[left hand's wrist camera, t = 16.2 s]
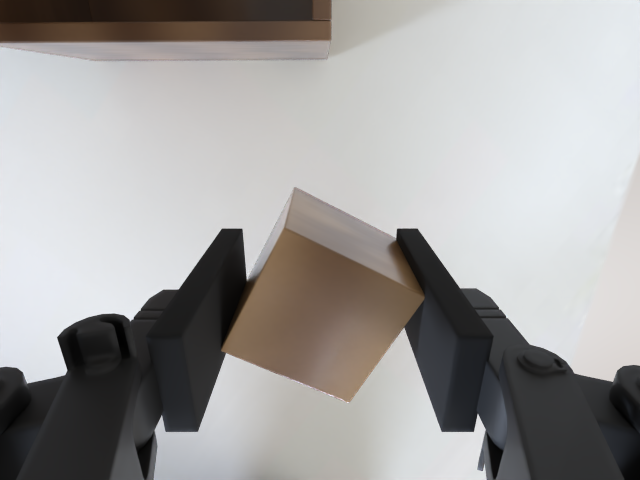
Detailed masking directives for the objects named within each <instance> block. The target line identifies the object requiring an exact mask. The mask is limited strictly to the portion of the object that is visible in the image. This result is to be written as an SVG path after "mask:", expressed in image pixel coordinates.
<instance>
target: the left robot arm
mask: <svg viewBox="0 0 640 480" xmlns="http://www.w3.org/2000/svg"><path fill="white" fill-rule="evenodd" d="M396 240H397V242H398V244H399V246H400V248H401V250H402V252H403V254H404V256H405V258H406V260H407V262H408V264H409V266H410V268H411V269H412V271H413V273H414V275H415V277H416V279H417V281H418V283H419V285H420V287H421V289H422V291H423V293H424V295H425V298H424V300H423V302H422V303H421V305H420V306H419V307H418V309H417V310H416V311H415V313H414V314H413V316H412V317H411V318H410V320H409V321H408V322H407V324H406V325H405V327H404V328H405V330H406V333H407V336H408V339H409V342H410V344H411V347H412V350H413V353H414V356H415V358H416V361H417V364H418V367H419V369H420V372H421V375H422V378H423V381H424V383H425V386H426V389H427V392H428V395H429V397H430V400H431V403H432V406H433V409H434V411H435V414H436V417H437V420H438V423H439V425H440V428H441V431H442V432H474V428H475V424H476V419H477V414H479V416H480V418H481V420H482V423H483V425H484V427H485V429H486V431H485V435H484V440H483V444H482V449H481V453H480V458H479V462H478V469H477V470H480V471H483V467H484V463H485V468H486V477H487V480H640V366H637V365H630V366H623V367H622V368H620V369H619V370H618V371H617V373H616V376H615V378H614V381H613V382H610V381H606V380H600V379H596V378H591V377H586V376H581V375H578V374H574V372H573V370H572V369H571V368H570V366H569V365H568V364H567V362H566V361H564V360H563V359H562V358H560V357H559V356H557V355H556V354H554V353H552V352H550V351H548V350H546V349H544V348H540V347H536V346H532V345H529V343H528V342H527V341H526V340H525V339H524V337H523V336H522V335H521V334H520V332H519V331H518V330H517V329H516V328H515V326H514V325H513V324H512V323H511V322H510V320H509V319H508V318H506V316H505V314H504V313H503V312H502V311H501V310H499V307H498V306H497V305H496V304H495V302H494V301H493V300H492V299H491V298H490V297H489V296H487V295H486V294H484V293H483V292H481V291H479V290H478V289H460V288H459V286H458V285H457V284H456V282H455V281H454V279H453V278H452V277H451V275H450V274H449V272H448V271H447V270H446V268H445V267H444V265H443V264H442V263H441V261H440V260H439V258H438V257H437V256H436V254H435V253H434V251H433V250H432V248H431V247H430V246H429V244H428V243H427V241H426V240H425V239H424V237H423V236H422V234H421V233H420V232H419V230H418V229H397V237H396ZM246 282H247V279H246V267H245V255H244V243H243V230H242V229H222V230H221V231H220V232H219V234H218V235H217V237H216V238H215V239H214V241H213V242H212V244H211V245H210V246H209V248H208V249H207V251H206V252H205V253H204V255H203V256H202V258H201V259H200V260H199V262H198V263H197V265H196V266H195V267H194V269H193V270H192V272H191V273H190V274H189V276H188V277H187V279H186V280H185V282H184V283H183V284H182V286H181V287H180V289H179V290H162V291H161V292H159V293H158V294H156V295H154V296H153V297H151V298H150V299H149V300H148V301H147V302H146V303H145V305H144V306H143V307H142V308H141V311H139V312H138V313H137V314H136V315H135V317H134V320H131V322H130V320H129V319H128V318H126V317H125V316H124V315H119V314H101V315H97V316H92V317H88V318H86V319H83V320H81V321H78V322H76V323H74V324H72V325H71V326H69V327H68V328H66V329H64V330H63V332H62V333H61V334H60V335H59V336H58V337H57V338H58V342H59V345H60V348H61V351H62V354H63V357H64V361H65V364H66V367H67V370H68V371H67V373H66V375H64V376H61V377H57V378H52V379H47V380H42V381H38V382H33V383H28V384H27V383H26V380H25V377H24V375H23V372H21V371H20V370H19V369H17V368H12V367H2V368H0V480H153V478H154V469H155V461H156V453H157V441H156V435H155V431H154V430H155V428H156V426H157V424H158V421H159V419H160V417H161V415H162V416H163V421H164V426H165V431H166V432H198V430H199V427H200V424H201V421H202V418H203V416H204V413H205V410H206V407H207V405H208V402H209V399H210V396H211V393H212V391H213V388H214V385H215V382H216V379H217V377H218V374H219V371H220V368H221V365H222V363H223V360H224V357H225V354H226V353H225V352H222V351H221V347H222V344H223V341H224V339H225V336H226V334H227V331H228V328H229V326H230V323H231V321H232V318H233V316H234V313H235V310H236V308H237V305H238V303H239V300H240V297H241V295H242V292H243V290H244V287H245V284H246Z"/></svg>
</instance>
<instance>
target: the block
mask: <svg viewBox="0 0 640 480" xmlns="http://www.w3.org/2000/svg"><path fill="white" fill-rule="evenodd" d="M424 298H425V295H424V293H423V291H422V289H421V287H420V285H419V283H418V281H417V279H416V277H415V275H414V273H413V271H412V269H411V268H410V266H409V264H408V262H407V260H406V258H405V256H404V254H403V252H402V250H401V248H400V246H399V244H398V242H397V240H396V238H394V237H392V236H390V235H388V234H387V233H385V232H383V231H381V230H379V229H377V228H375V227H373V226H371V225H369V224H367V223H365V222H363V221H361V220H359V219H357V218H355V217H353V216H351V215H349V214H347V213H345V212H343V211H341V210H339V209H337V208H335V207H334V206H332V205H330V204H328V203H326V202H324V201H322V200H320V199H318V198H316V197H314V196H312V195H310V194H308V193H306V192H304V191H302V190H300V189H298V188H296V187H295V188H294V189H293V191H292V193H291V195H290V197H289V199H288V201H287V203H286V205H285V207H284V209H283V211H282V212H281V214H280V216H279V218H278V220H277V222H276V224H275V226H274V228H273V230H272V232H271V234H270V236H269V238H268V240H267V242H266V244H265V246H264V248H263V250H262V252H261V254H260V256H259V258H258V260H257V262H256V264H255V265H254V267H253V269H252V271H251V273H250V275H249V277H248V279H247V282H246V284H245V287H244V290H243V292H242V295H241V297H240V300H239V303H238V305H237V308H236V310H235V313H234V316H233V318H232V321H231V323H230V326H229V328H228V331H227V334H226V336H225V339H224V341H223V344H222V347H221V351H222V352H225V353H227V354H230V355H232V356H235V357H237V358H240V359H242V360H244V361H247V362H249V363H252V364H254V365H257V366H259V367H262V368H264V369H266V370H269V371H271V372H274V373H276V374H279V375H281V376H284V377H286V378H288V379H291V380H293V381H296V382H298V383H301V384H303V385H306V386H308V387H311V388H313V389H315V390H318V391H320V392H323V393H325V394H328V395H330V396H333V397H335V398H337V399H340V400H342V401H345V402H347V403H349V402H350V401H351V400H352V398H353V397H354V395H355V394H356V393H357V391H358V390H359V389H360V387H361V386H362V384H363V383H364V382H365V380H366V379H367V378H368V376H369V375H370V373H371V372H372V371H373V369H374V368H375V366H376V365H377V364H378V362H379V361H380V360H381V358H382V357H383V355H384V354H385V353H386V351H387V350H388V349H389V347H390V346H391V344H392V343H393V342H394V340H395V339H396V338H397V336H398V335H399V333H400V332H401V331H402V329H403V328H404V327H405V325H406V324H407V322H408V321H409V320H410V318H411V317H412V316H413V314H414V313H415V311H416V310H417V309H418V307H419V306H420V305H421V303H422V302H423V300H424Z"/></svg>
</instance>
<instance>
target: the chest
mask: <svg viewBox="0 0 640 480" xmlns="http://www.w3.org/2000/svg"><path fill="white" fill-rule="evenodd" d="M330 43H331V0H0V47H5V48H12V49H18V50H25V51H32V52H39V53H46V54H53V55H59V56H66V57H73V58H80V59H87V60H93V61H161V60H327V58H328V52H329V48H330Z"/></svg>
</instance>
